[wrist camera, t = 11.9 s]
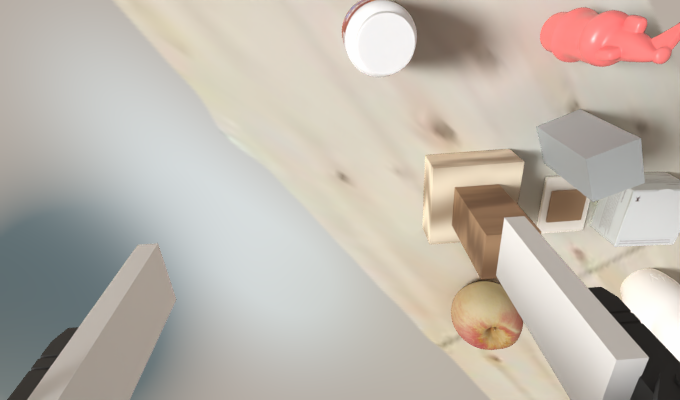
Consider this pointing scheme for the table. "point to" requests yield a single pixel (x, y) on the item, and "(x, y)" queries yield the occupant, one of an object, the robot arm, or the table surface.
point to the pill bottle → (379, 37)
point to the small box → (641, 213)
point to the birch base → (463, 185)
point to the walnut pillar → (483, 223)
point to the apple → (486, 316)
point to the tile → (561, 207)
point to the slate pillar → (592, 154)
